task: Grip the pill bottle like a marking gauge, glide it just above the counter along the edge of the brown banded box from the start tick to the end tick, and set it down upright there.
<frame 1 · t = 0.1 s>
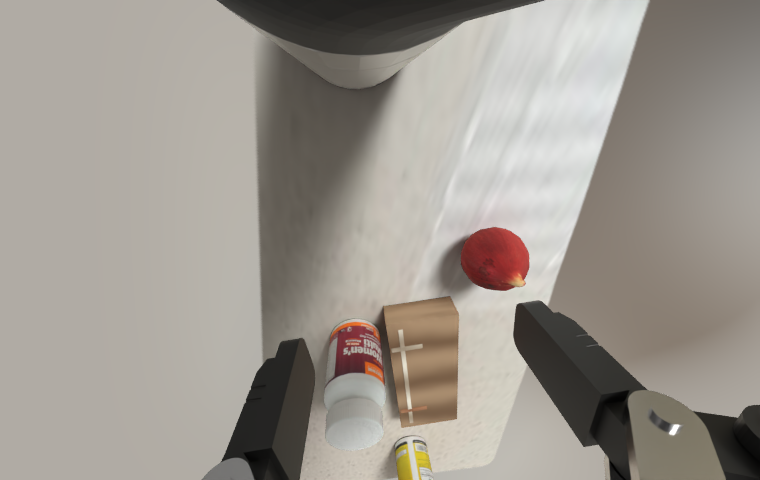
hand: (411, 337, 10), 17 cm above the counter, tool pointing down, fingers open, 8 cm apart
pill bottle: (355, 334, 34), on the counter
supplement bottle: (409, 442, 46), on the counter
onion: (476, 239, 29), on the counter
brown banded box: (421, 358, 36), on the counter
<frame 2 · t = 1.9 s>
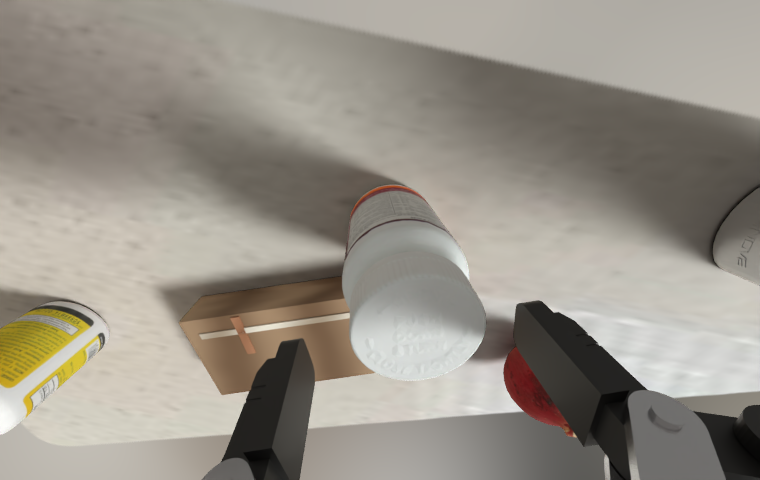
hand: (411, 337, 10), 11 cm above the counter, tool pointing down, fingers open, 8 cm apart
pill bottle: (390, 221, 20), on the counter
supplement bottle: (78, 323, 22), on the counter
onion: (517, 344, 27), on the counter
brown banded box: (333, 316, 23), on the counter
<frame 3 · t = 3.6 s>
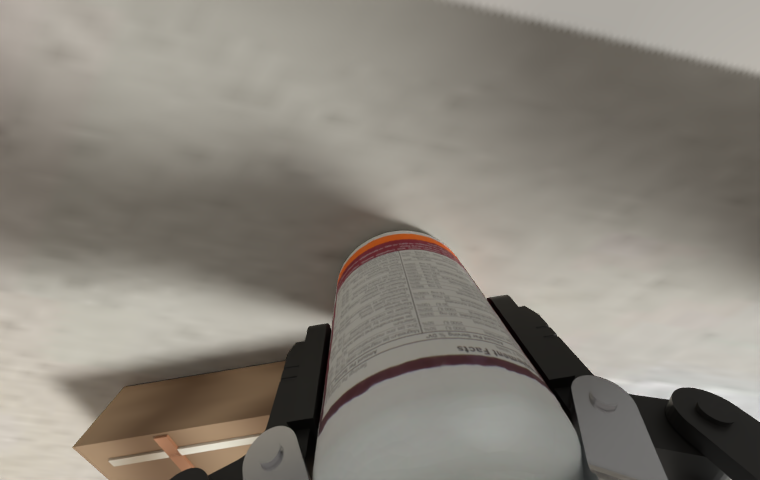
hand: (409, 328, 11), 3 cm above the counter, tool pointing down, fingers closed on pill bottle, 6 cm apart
pill bottle: (398, 280, 14), on the counter, touching gripper
brown banded box: (318, 403, 17), on the counter
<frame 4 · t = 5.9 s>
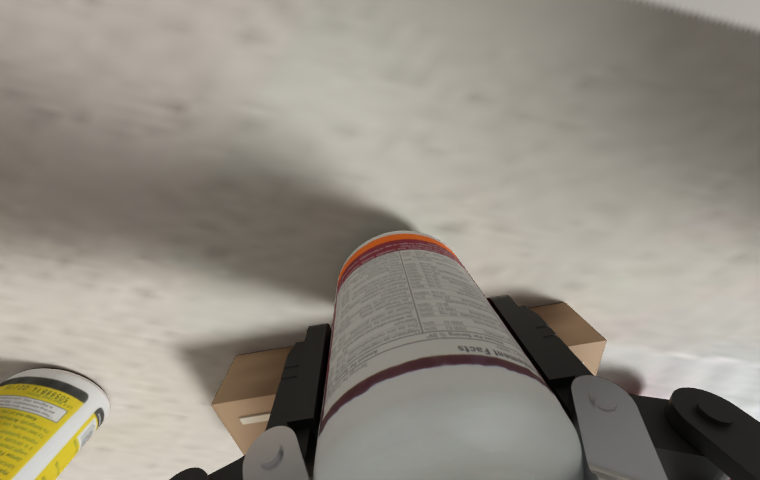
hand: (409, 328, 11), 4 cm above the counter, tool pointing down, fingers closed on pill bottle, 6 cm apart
pill bottle: (398, 280, 14), point 1 cm above the counter, touching gripper
supplement bottle: (67, 392, 17), on the counter
brown banded box: (407, 374, 18), on the counter
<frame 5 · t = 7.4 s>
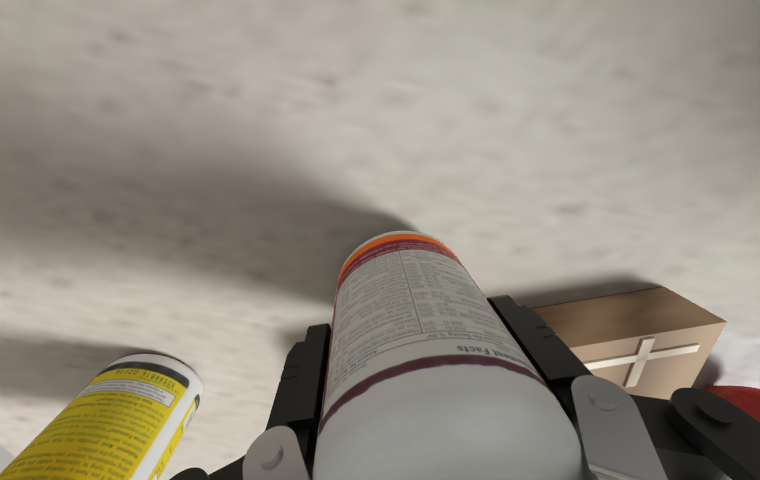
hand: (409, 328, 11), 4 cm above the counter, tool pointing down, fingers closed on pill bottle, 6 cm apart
pill bottle: (398, 280, 14), point 1 cm above the counter, touching gripper
supplement bottle: (160, 379, 16), on the counter
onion: (704, 385, 21), on the counter
brown banded box: (497, 360, 18), on the counter
when the fingers open (3 cm above the counter, at t = 8.6 s): pill bottle stays where it is, on the counter.
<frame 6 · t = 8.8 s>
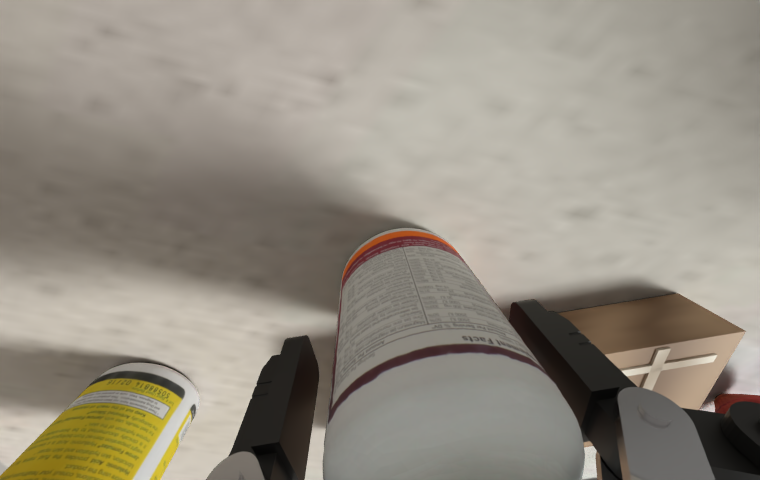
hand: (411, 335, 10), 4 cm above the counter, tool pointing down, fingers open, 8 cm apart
pill bottle: (401, 277, 14), on the counter
supplement bottle: (155, 388, 16), on the counter
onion: (715, 393, 20), on the counter
brown banded box: (503, 368, 17), on the counter
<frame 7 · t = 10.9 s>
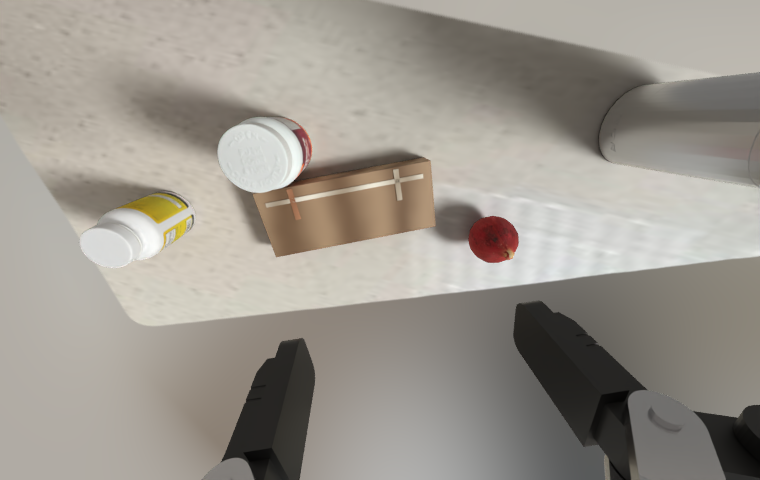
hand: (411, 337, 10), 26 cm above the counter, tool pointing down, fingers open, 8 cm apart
pill bottle: (285, 146, 31), on the counter
supplement bottle: (173, 212, 32), on the counter
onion: (479, 227, 38), on the counter
brown banded box: (349, 203, 34), on the counter
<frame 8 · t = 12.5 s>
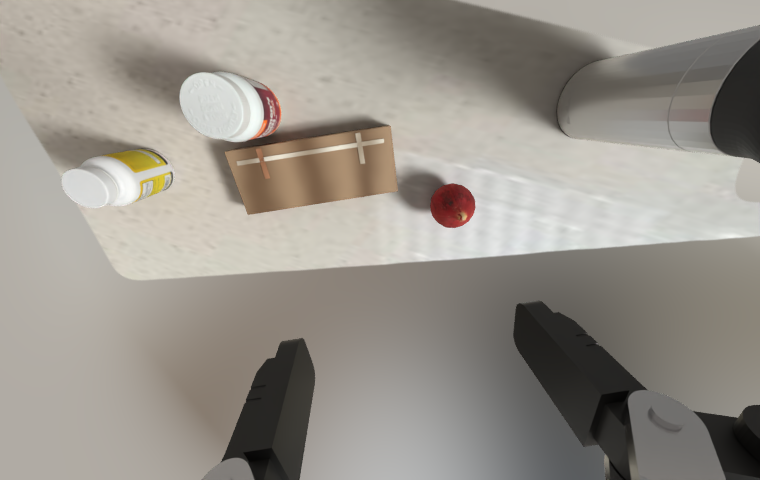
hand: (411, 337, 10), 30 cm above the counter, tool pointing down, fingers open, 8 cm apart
pill bottle: (257, 109, 33), on the counter
supplement bottle: (154, 169, 35), on the counter
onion: (443, 197, 40), on the counter
brown banded box: (318, 168, 36), on the counter
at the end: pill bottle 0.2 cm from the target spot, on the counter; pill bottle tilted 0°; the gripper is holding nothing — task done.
